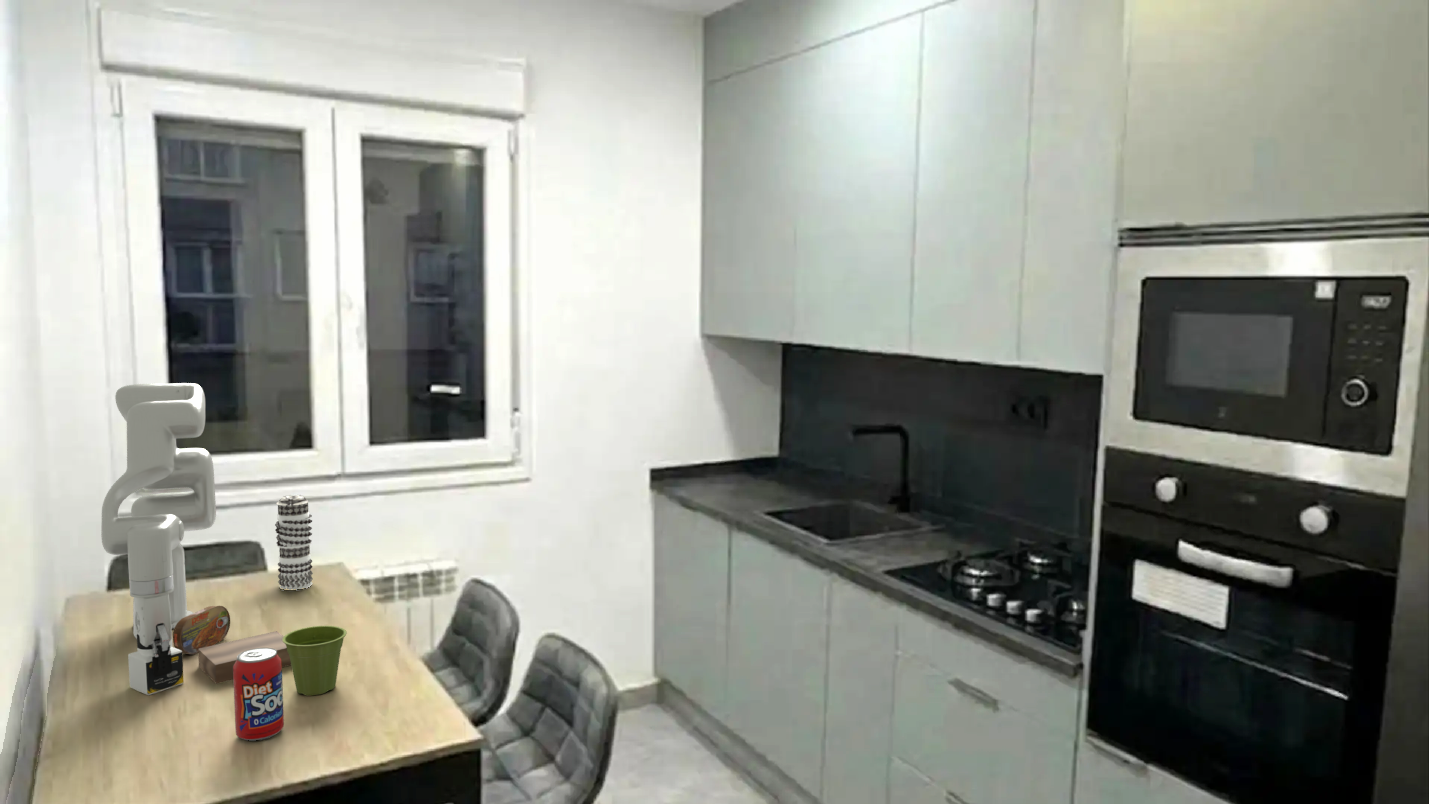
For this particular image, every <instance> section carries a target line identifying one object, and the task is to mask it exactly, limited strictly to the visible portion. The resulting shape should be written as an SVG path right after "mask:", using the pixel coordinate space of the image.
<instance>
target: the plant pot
mask: <svg viewBox="0 0 1429 804" xmlns="http://www.w3.org/2000/svg"><path fill="white" fill-rule="evenodd" d="M347 634H348V633H347V630H346V629H345V628H343V627H340V626H335V625H314V626H306V627H303V628H298V629H296V630H292V631H290V632H288V633H287V634H285V635H283V636H284V637H283V639H282V640H283V643H285V644H286V647H287V651H288V653H289V656H290V661H291V665H290V666H291V669H292V674H293V679H294V685H295V690H296V692H297V693H298V694H303V695H304V696H310V697H311V696H317V695H318V696H319V695H323V694H325V693H327V692H328V691H330V690H331V691H332V690H334V689H335V688H336V683H337V677H338V670H339V664H340V663H339V662H340V657H341V652H342V651H341V650H342V647H343V643H344V639H345V637H346V636H347Z"/></svg>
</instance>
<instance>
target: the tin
mask: <svg viewBox="0 0 1429 804" xmlns="http://www.w3.org/2000/svg"><path fill="white" fill-rule="evenodd" d="M230 627H231V615H230V613H229V611H228V609H227V608H226V606H225V607H224V606H223V605H212V606H211V605H209V606H206V607H204V608H202V609H200V610H198V611H195V612H193V614H191V615H189V616H186V617H184V618H182V619H181V620H180V621H179V622H178V623H177V624H176V626H175V628H173V631H172V645H173V647H174V648H176V649H179V650H181V651H182V655H192V656H193V655H198V649H199V648H204V647H208V646H213V645H217V644H220V643H221V642H222V641H223V640H224V639H225V638H226V637H227V635H228V633H229V632H230V631H229V630H230Z"/></svg>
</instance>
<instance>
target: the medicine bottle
mask: <svg viewBox="0 0 1429 804" xmlns="http://www.w3.org/2000/svg"><path fill="white" fill-rule="evenodd" d="M156 632H157V631H156ZM168 637H169V636H168ZM158 640H160V639H156V640H154V641H158ZM169 645H170V650H171V661H172V672H171V673H170V674H166V675H161V676H157V677H154V676H153V664H152V657H154V654H153V649H152V645H148V647H145V646H143V645H142V644H141V643H140V637H139V635H138V634H137V639H136V647H137V651H134V652H129V653H128V654H127V657H128V660H127V661H128V678H129V687H130V688H131V689H133V690H135V691H137V692H140V693H142V694H144V695H147V696H150V695H154V694H157V693H160V692H162V691H166V690H168V689H172V688H175V687H178V686H182V685H183V684H184V663H183V662H184V661H183V654H182V651H181V650H179V649H176V648H174V646H173V638H172V639H171V640H170V641H169ZM159 646H161V645H158V646H157V650H158V647H159Z"/></svg>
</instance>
